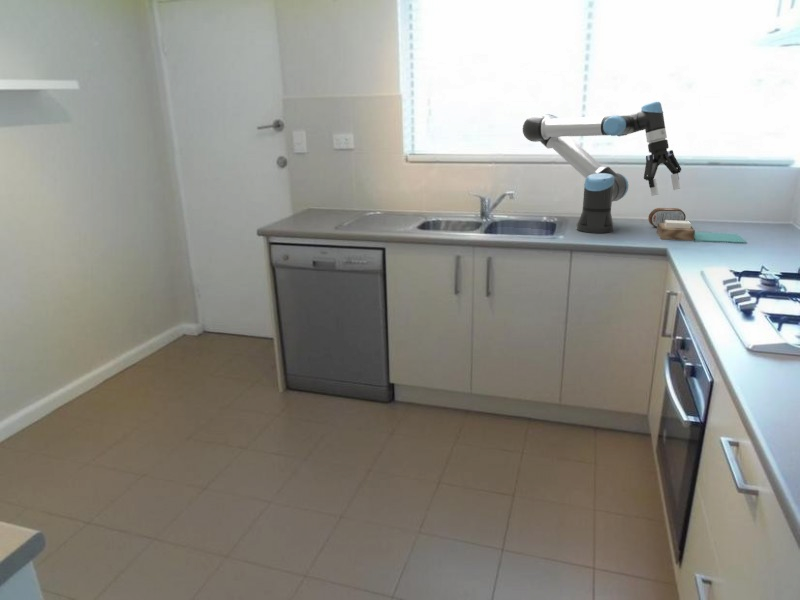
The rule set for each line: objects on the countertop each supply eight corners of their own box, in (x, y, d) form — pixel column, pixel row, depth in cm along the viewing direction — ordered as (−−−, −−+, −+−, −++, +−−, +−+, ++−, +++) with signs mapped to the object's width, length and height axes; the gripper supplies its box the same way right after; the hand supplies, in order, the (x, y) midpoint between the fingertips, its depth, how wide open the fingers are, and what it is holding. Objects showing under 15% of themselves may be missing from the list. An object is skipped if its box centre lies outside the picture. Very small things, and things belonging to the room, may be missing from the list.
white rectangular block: (666, 227, 232) (666, 222, 231) (664, 224, 237) (664, 219, 237) (690, 228, 229) (691, 223, 229) (688, 225, 235) (688, 220, 234)
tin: (682, 226, 253) (685, 207, 250) (685, 228, 250) (687, 209, 247) (647, 226, 254) (649, 207, 252) (649, 228, 251) (651, 208, 249)
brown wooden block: (660, 239, 230) (662, 229, 229) (656, 232, 243) (657, 222, 241) (693, 240, 227) (695, 230, 225) (687, 233, 239) (689, 224, 238)
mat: (695, 241, 226) (695, 239, 225) (688, 233, 240) (688, 231, 240) (746, 243, 220) (747, 242, 220) (736, 235, 235) (737, 233, 235)
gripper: (644, 143, 227) (653, 196, 230) (685, 134, 238) (693, 185, 240) (628, 147, 234) (638, 199, 236) (669, 139, 244) (677, 188, 247)
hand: (666, 192), depth 238 cm, fingers open, 13 cm apart
